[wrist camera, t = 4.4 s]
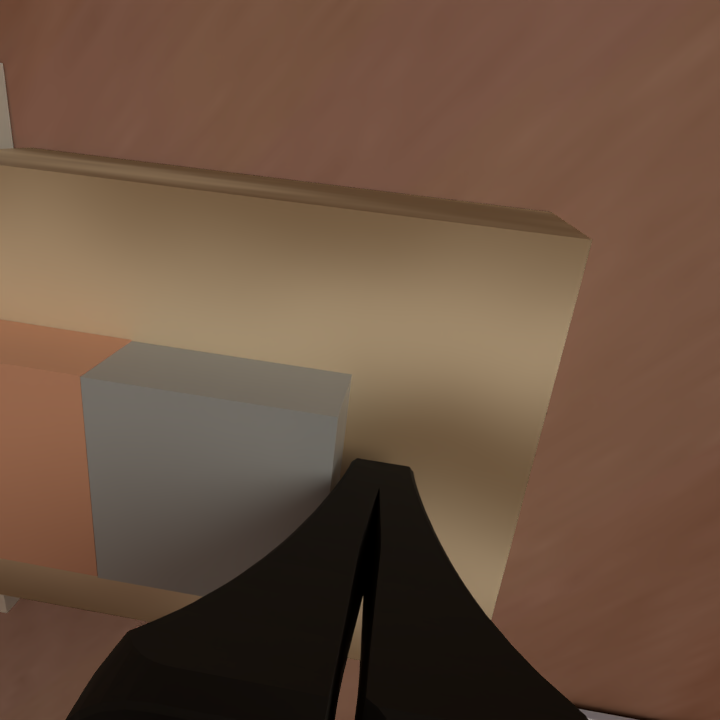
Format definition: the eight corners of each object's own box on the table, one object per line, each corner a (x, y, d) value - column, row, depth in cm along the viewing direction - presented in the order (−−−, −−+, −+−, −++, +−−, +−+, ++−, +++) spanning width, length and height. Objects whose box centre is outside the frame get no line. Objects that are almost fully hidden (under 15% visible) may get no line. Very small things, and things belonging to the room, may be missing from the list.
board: (466, 574, 19) (474, 681, 15) (71, 507, 20) (-11, 592, 16) (551, 212, 14) (592, 240, 11) (30, 147, 15) (-99, 152, 12)
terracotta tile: (139, 520, 14) (97, 576, 13) (-42, 487, 15) (-110, 537, 13) (131, 339, 12) (79, 375, 11) (-78, 307, 13) (-163, 336, 11)
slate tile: (331, 553, 14) (316, 616, 12) (140, 521, 14) (97, 578, 13) (352, 374, 12) (338, 417, 10) (131, 340, 13) (80, 376, 11)
